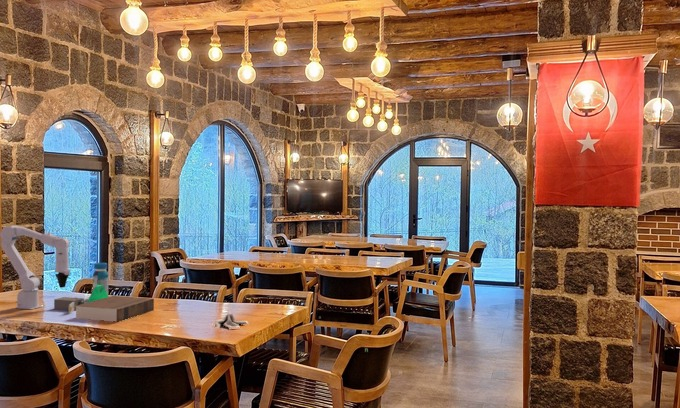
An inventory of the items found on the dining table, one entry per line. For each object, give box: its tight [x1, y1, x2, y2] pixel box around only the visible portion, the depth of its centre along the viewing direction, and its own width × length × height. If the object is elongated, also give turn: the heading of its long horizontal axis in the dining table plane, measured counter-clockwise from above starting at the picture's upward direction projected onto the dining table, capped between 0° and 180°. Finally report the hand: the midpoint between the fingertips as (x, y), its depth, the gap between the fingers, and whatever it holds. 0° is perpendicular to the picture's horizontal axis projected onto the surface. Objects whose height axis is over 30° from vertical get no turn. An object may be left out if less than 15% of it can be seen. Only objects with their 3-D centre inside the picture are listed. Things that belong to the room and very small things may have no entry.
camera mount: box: [86, 285, 110, 303], centre depth 298 cm, size 12×8×10 cm, turn 145°
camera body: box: [53, 296, 85, 311], centre depth 286 cm, size 13×7×6 cm, turn 77°
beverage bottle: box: [92, 262, 110, 295], centre depth 315 cm, size 8×8×20 cm
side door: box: [68, 302, 76, 315], centre depth 277 cm, size 8×1×4 cm, turn 12°
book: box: [75, 295, 155, 323], centre depth 274 cm, size 24×28×7 cm
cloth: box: [211, 312, 249, 329], centre depth 253 cm, size 22×19×6 cm
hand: (62, 287), depth 289 cm, fingers closed
